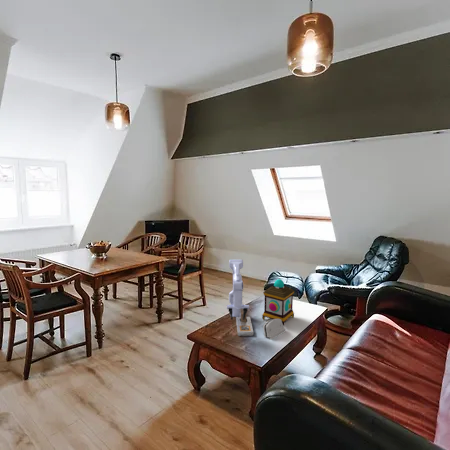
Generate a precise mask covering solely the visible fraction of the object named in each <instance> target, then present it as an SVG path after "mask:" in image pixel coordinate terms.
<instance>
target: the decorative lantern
mask: <svg viewBox="0 0 450 450" xmlns="http://www.w3.org/2000/svg"><path fill="white" fill-rule="evenodd" d="M294 293H295V290H294V289H292V288H291V287H288V286H287V285H286V284H285V283H284V281H283V280H282V279H281V278H278V279H276V280H275V281H274V283H273V285H272V286H270V287H269V288H266V289H265V290H264V291H263V295H264V307H263V309H264V311H263V313H262V314H261V317H262V320H265V319H266V318H268V319H270V320H272V319H281V321H282V324H283V326H285V322H286V321H288V320H289V319H290V318H295V312H294V310H293V303H294V302H293V300H294Z"/></svg>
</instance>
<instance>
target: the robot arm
mask: <svg viewBox="0 0 450 450" xmlns="http://www.w3.org/2000/svg"><path fill="white" fill-rule="evenodd" d="M228 267H229V269H230V270H231V271H232V290H231V291H230V292H228V302H229V304H227V305H226V309H227V310H228V313H229V314H230V317H231V319H230V320H232V321H233V320H234V319H233V318H234V317H235V318H236V317H241V312H243V320H244V318H245V315H246V316H247V313H248V310H250V305H249V304H243V290H244V281H243V276H242V274H241V273H240V271H241V270H242V269H243V268H244V260H243V259H242V258H241V259H229V261H228ZM241 310H243V311H241Z"/></svg>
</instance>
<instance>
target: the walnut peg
mask: <svg viewBox="0 0 450 450" xmlns="http://www.w3.org/2000/svg"><path fill="white" fill-rule="evenodd" d="M240 312H241V322H246V317H247V314H246V315H245V318H244V320H243V311H240Z"/></svg>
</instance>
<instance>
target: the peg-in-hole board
mask: <svg viewBox="0 0 450 450" xmlns="http://www.w3.org/2000/svg"><path fill="white" fill-rule="evenodd" d="M235 322H236V331H237V336H239V337H240V336H241V337H247V336H254V329H253V324H252V321H251V316H246V322H241V317H235Z"/></svg>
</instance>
